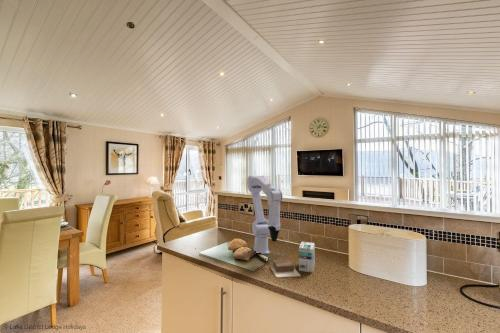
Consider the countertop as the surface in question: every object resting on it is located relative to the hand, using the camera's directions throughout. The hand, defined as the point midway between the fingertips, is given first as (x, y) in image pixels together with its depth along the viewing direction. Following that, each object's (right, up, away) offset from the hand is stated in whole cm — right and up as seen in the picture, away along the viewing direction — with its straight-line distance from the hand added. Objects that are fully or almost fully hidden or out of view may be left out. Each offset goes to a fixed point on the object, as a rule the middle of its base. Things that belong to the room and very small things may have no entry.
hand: (274, 241), depth 122 cm
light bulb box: (+15, -11, -6) cm, 20 cm away
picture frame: (+3, -9, -6) cm, 11 cm away
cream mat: (+4, -10, -12) cm, 16 cm away
